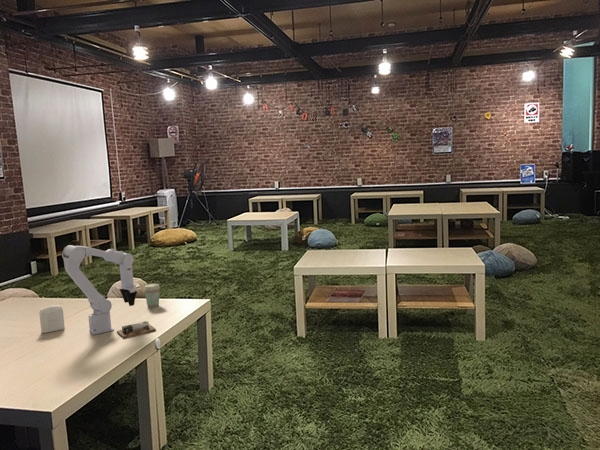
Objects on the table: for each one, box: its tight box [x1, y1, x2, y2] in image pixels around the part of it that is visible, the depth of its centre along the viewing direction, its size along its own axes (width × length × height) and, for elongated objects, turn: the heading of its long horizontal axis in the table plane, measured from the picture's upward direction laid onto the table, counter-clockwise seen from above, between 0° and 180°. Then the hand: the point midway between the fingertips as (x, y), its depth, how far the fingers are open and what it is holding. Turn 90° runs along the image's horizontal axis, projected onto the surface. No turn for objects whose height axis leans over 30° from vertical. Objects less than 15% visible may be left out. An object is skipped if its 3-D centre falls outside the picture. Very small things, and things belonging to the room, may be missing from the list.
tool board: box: [116, 323, 157, 339], centre depth 237 cm, size 15×10×3 cm, turn 125°
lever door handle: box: [121, 320, 150, 334], centre depth 237 cm, size 12×3×3 cm, turn 125°
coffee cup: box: [143, 283, 161, 309], centre depth 277 cm, size 8×8×12 cm
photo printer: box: [38, 304, 66, 334], centre depth 244 cm, size 10×4×12 cm, turn 123°
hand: (129, 303), depth 251 cm, fingers open, 7 cm apart
